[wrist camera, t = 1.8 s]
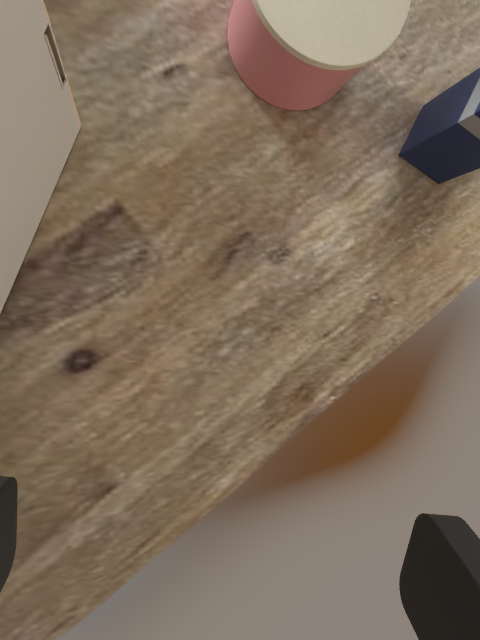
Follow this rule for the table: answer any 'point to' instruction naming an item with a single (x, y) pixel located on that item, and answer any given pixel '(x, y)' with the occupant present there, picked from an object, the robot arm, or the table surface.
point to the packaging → (29, 128)
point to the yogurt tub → (309, 45)
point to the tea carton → (447, 132)
